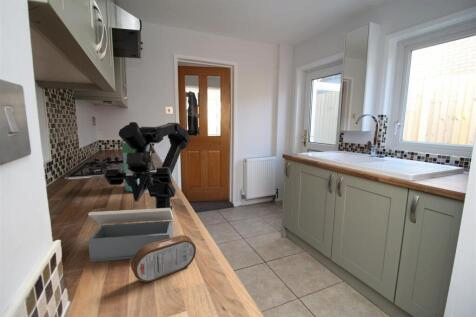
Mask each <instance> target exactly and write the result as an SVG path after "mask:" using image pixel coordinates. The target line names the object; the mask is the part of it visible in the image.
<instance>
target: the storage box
mask: <svg viewBox="0 0 476 317" xmlns="http://www.w3.org/2000/svg"><path fill="white" fill-rule="evenodd" d="M173 223H174V222H173V220H160V221H144V222H129V223H113V224H100V226H99V227H98V229H97V230H95V231H94V233H93V234H92V235H91V236H90V237H89V239H88V240H87V244H88V254H89V262H90V263H94V262H105V261H115V260H116V261H117V260H125V259H126V260H128V259H133V257H134V255H135V254H136V252H137V251H138V250H139V249H141V248H142V247H144V246H145V245H148V244H151V243H154V242H158V241H162V240H165V239H169V238H172V237H174V227H173V226H174V224H173Z"/></svg>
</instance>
